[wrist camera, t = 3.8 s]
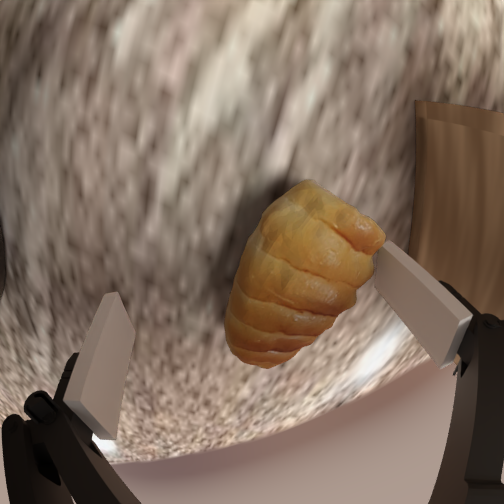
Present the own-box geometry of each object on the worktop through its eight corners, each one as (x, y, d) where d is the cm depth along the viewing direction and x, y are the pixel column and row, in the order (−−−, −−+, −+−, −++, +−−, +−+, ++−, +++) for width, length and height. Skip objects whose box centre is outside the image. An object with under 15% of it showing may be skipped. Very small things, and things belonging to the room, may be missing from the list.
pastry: (280, 349, 18) (318, 389, 15) (185, 342, 13) (220, 400, 11) (355, 214, 16) (409, 240, 13) (276, 159, 12) (344, 180, 9)
